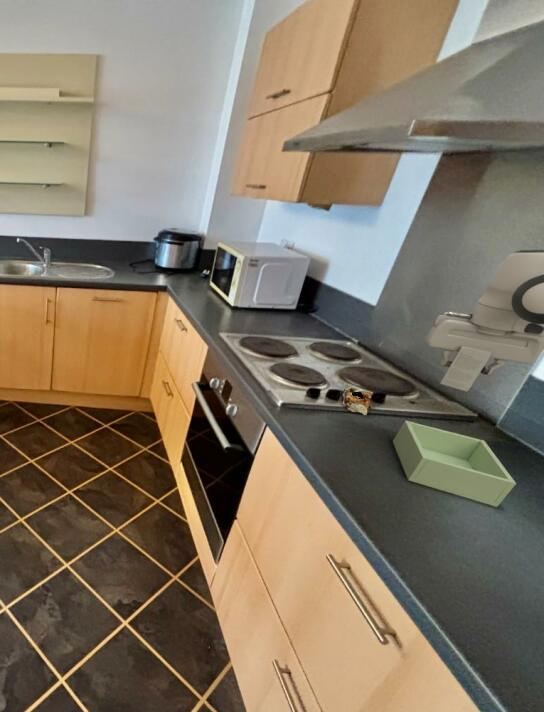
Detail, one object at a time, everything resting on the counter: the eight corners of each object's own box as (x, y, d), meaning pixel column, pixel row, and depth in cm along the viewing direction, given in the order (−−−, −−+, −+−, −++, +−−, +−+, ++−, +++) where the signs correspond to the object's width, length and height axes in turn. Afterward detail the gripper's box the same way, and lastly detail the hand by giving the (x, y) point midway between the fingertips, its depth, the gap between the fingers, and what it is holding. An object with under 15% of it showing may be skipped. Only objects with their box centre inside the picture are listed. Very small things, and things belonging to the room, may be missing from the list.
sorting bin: (468, 462, 90) (484, 440, 87) (496, 507, 78) (516, 483, 75) (392, 441, 95) (405, 420, 93) (407, 480, 83) (422, 457, 80)
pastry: (344, 411, 107) (350, 399, 105) (337, 391, 116) (342, 380, 115) (377, 419, 104) (383, 407, 102) (366, 398, 114) (372, 386, 112)
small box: (444, 375, 112) (465, 339, 107) (472, 384, 108) (495, 347, 103) (438, 383, 107) (460, 346, 102) (467, 392, 104) (491, 354, 99)
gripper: (444, 313, 101) (416, 364, 108) (560, 331, 93) (523, 385, 99) (437, 306, 106) (411, 355, 113) (547, 323, 98) (512, 375, 104)
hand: (464, 369), depth 106 cm, fingers closed on small box, 6 cm apart
